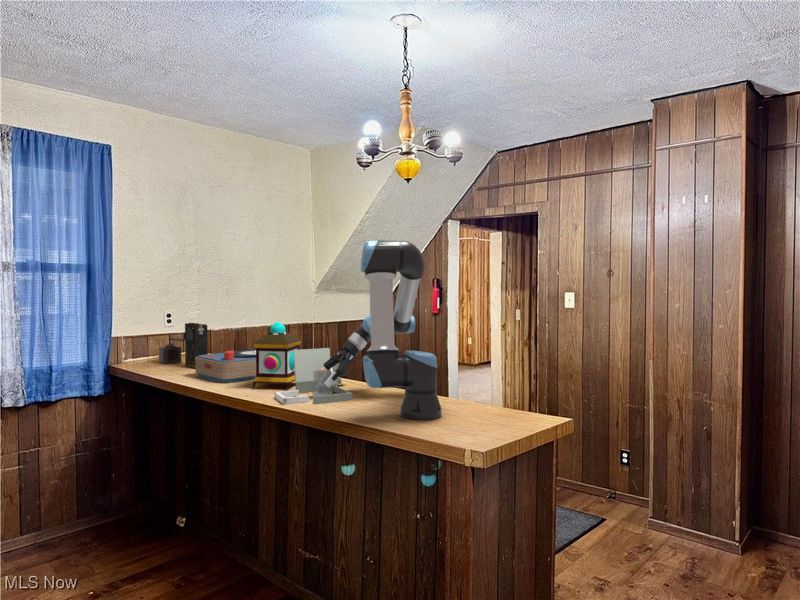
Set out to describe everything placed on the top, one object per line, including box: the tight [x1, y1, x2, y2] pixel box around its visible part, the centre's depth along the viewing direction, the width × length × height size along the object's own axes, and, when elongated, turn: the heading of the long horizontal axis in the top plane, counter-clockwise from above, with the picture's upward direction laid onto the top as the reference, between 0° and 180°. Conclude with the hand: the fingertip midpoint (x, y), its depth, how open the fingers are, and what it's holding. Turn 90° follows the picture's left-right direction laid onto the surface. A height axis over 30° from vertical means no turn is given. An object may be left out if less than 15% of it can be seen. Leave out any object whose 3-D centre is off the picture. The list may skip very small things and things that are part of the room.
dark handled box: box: [158, 332, 185, 365], centre depth 336 cm, size 16×11×18 cm
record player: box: [195, 348, 256, 384], centre depth 293 cm, size 44×36×15 cm
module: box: [313, 369, 333, 396], centre depth 236 cm, size 6×6×11 cm
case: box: [293, 347, 353, 405], centre depth 237 cm, size 27×18×19 cm, turn 27°
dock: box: [274, 389, 309, 406], centre depth 230 cm, size 14×10×2 cm
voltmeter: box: [184, 322, 209, 370], centre depth 317 cm, size 16×9×25 cm, turn 43°
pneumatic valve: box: [332, 363, 349, 386], centre depth 263 cm, size 6×12×12 cm, turn 60°
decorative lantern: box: [252, 321, 302, 391], centre depth 260 cm, size 20×20×30 cm
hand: (321, 382), depth 236 cm, fingers open, 13 cm apart
